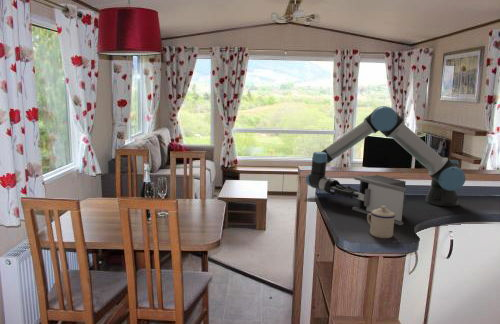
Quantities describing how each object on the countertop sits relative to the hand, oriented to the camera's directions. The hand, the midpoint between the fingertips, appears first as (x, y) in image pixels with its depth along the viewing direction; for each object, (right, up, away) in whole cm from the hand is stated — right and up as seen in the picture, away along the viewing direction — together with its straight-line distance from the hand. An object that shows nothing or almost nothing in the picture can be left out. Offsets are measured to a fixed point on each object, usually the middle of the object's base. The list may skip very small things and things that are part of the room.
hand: (364, 197), depth 183 cm
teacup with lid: (-2, -12, -25) cm, 28 cm away
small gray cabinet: (+10, -8, +1) cm, 12 cm away
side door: (+6, -7, -6) cm, 11 cm away
